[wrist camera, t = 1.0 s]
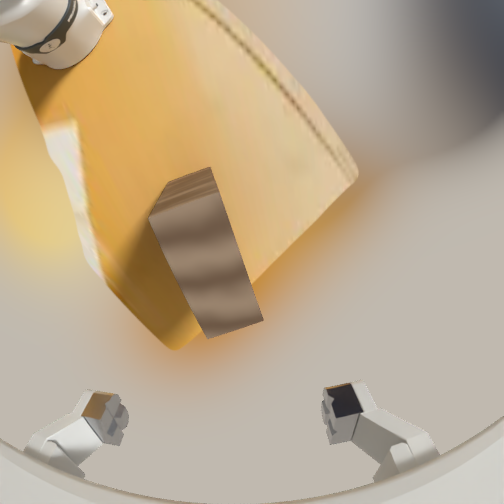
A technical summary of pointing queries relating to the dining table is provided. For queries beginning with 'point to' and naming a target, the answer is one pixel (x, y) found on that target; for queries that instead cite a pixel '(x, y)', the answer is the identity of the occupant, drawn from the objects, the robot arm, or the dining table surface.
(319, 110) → the dining table surface
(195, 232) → the walnut box
